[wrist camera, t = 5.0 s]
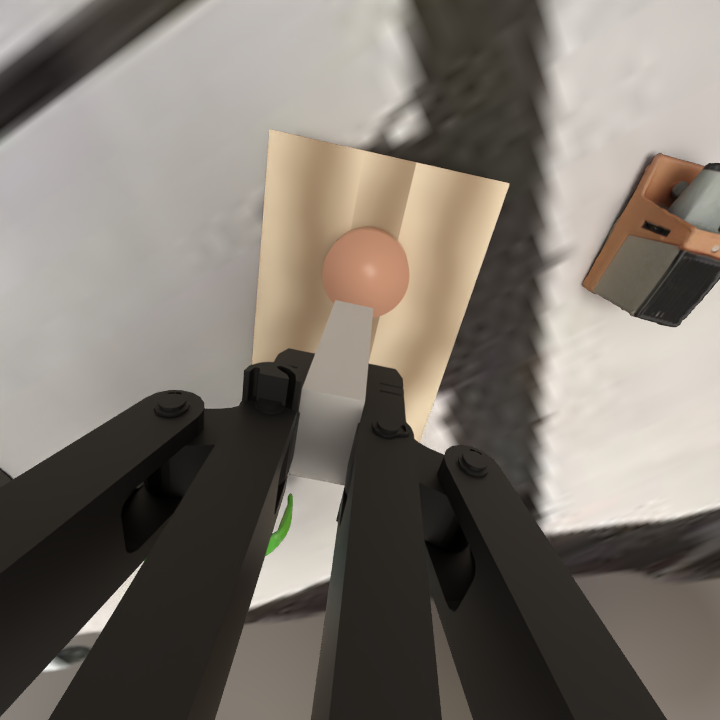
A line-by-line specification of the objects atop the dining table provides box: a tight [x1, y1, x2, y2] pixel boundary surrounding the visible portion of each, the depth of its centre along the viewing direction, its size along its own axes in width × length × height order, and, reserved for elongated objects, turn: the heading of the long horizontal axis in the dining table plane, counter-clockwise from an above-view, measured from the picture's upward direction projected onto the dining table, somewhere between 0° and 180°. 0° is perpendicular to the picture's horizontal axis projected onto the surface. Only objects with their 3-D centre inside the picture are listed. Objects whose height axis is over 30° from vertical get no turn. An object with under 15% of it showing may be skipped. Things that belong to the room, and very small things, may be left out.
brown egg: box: [322, 227, 409, 318], centre depth 26 cm, size 5×5×6 cm
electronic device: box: [583, 153, 720, 327], centre depth 25 cm, size 4×10×8 cm, turn 167°
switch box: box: [252, 130, 509, 443], centre depth 30 cm, size 14×24×6 cm, turn 169°
